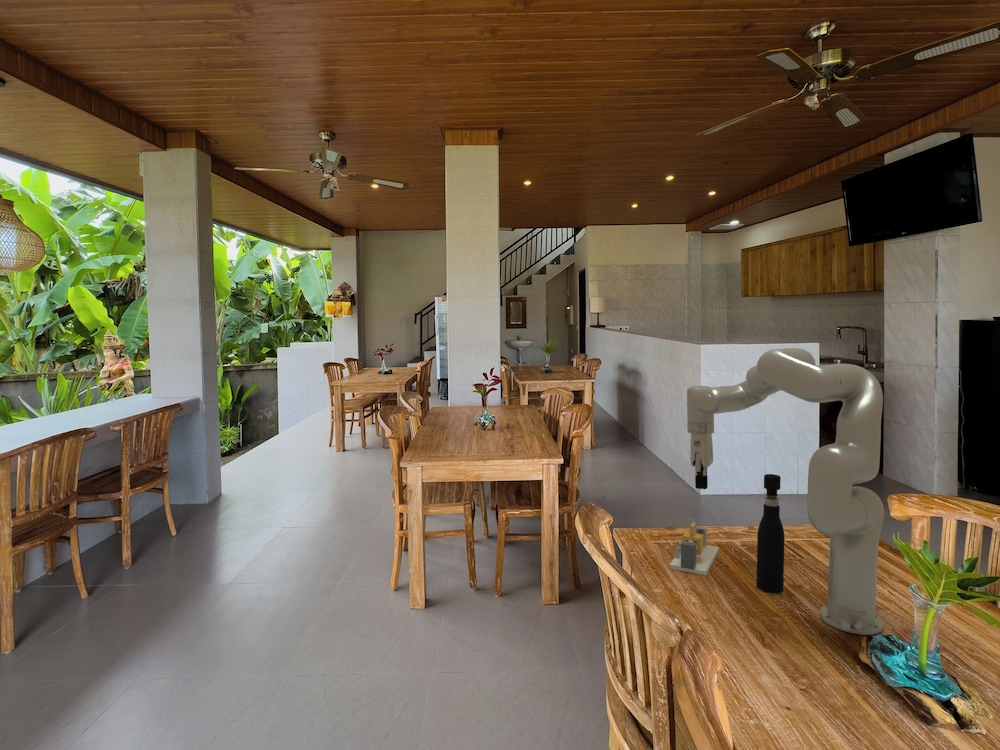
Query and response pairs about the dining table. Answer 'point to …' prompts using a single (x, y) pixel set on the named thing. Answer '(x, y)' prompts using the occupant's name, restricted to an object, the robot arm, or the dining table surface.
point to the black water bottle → (770, 541)
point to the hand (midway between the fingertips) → (701, 488)
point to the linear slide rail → (694, 556)
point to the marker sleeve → (694, 538)
